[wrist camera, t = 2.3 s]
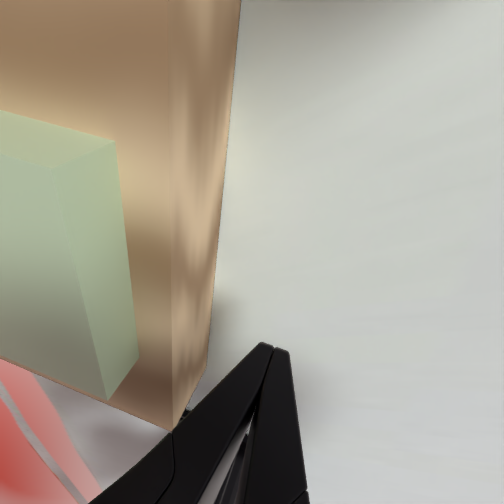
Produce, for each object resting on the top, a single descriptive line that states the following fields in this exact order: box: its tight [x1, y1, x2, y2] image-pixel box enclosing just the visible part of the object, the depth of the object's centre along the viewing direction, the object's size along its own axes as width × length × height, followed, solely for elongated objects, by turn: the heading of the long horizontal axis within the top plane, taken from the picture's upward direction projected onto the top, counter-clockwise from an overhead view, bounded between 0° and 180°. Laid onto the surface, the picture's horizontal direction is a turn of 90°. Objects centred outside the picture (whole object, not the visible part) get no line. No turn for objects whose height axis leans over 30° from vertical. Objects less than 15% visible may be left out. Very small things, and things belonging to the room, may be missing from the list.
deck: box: [0, 0, 241, 432], centre depth 13 cm, size 20×11×4 cm, turn 172°
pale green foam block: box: [0, 110, 139, 401], centre depth 11 cm, size 9×6×2 cm, turn 172°
